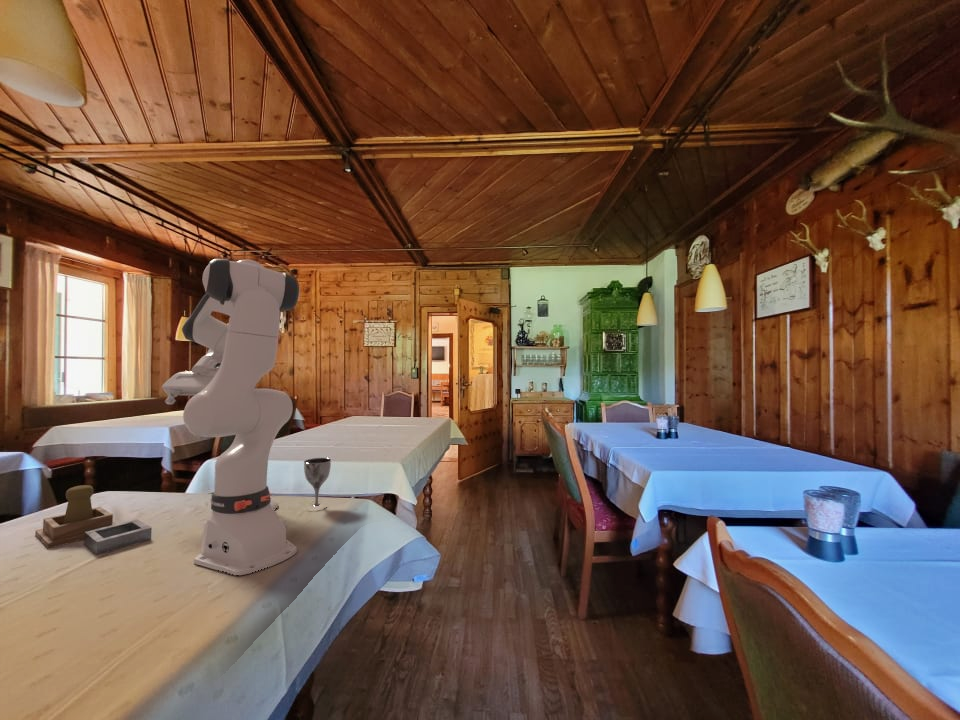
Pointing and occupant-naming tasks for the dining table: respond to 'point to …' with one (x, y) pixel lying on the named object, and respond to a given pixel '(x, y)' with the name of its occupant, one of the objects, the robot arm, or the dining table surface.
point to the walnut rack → (71, 528)
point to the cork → (78, 504)
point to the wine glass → (317, 473)
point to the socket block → (117, 536)
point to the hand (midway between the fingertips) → (182, 403)
